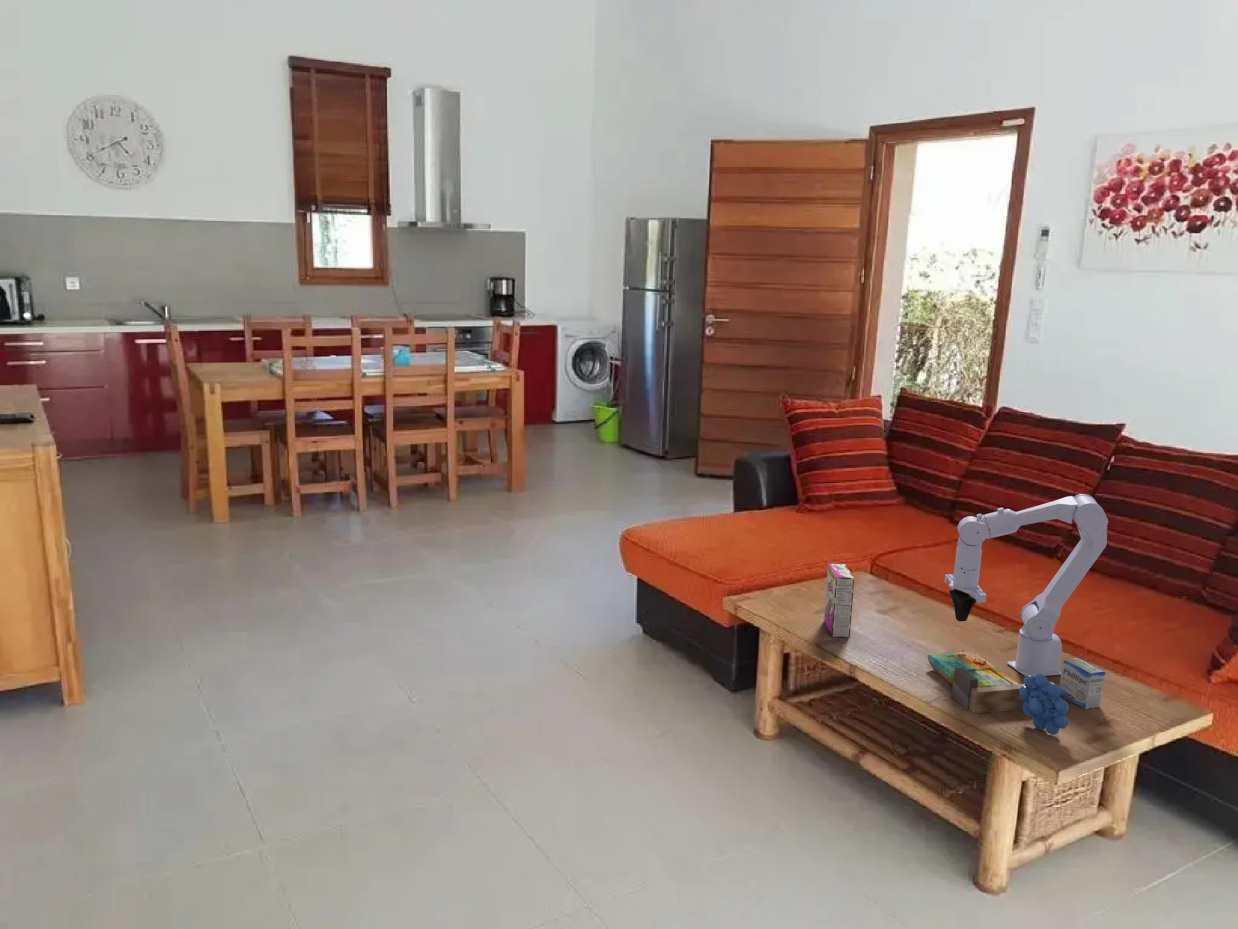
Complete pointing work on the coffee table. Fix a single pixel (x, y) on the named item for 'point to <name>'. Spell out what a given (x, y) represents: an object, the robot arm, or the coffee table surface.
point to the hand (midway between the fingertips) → (961, 620)
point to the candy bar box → (839, 600)
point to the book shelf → (984, 694)
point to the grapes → (1044, 703)
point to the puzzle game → (969, 668)
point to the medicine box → (1081, 683)
